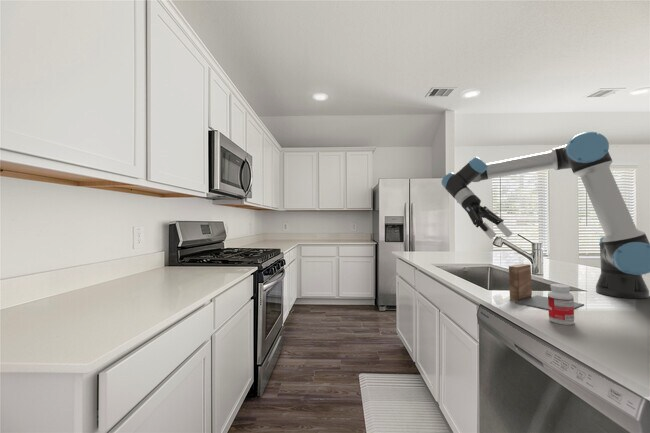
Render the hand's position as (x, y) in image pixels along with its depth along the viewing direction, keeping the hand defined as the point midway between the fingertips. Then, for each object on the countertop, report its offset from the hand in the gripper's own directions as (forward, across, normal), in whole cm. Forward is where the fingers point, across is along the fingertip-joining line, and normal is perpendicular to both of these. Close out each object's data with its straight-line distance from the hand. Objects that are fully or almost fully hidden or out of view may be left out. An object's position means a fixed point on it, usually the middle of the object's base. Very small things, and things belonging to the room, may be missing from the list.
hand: (502, 236), depth 122 cm
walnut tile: (+22, -1, -12) cm, 25 cm away
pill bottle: (+35, +18, +2) cm, 39 cm away
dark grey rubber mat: (+28, 0, -5) cm, 29 cm away
